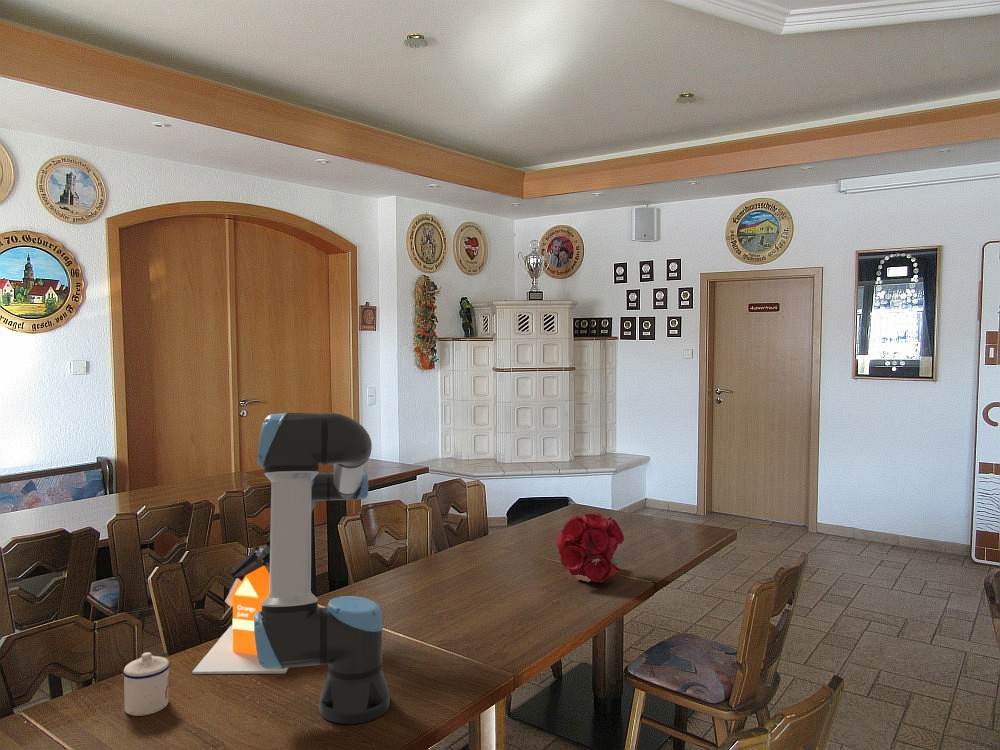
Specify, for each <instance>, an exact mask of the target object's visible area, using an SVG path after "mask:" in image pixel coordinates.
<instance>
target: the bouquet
mask: <svg viewBox="0 0 1000 750" xmlns="http://www.w3.org/2000/svg"><path fill="white" fill-rule="evenodd" d="M555 540H556V542H557V543H556V544H557V546H556V547H557V548H558V553H559V555H560V563H561V565H562V566H563V567H564V568H565V569H567V570H568V571H569V573H570V574H571V576H573V575H578V574H579V575H583V576H587V577H588V578H589V579H591V580H592V581H591V582H594V583H595V582H600V583H599V584H602V583H604V581H607V580H608V579H609V578H612V577H613V576H614V575H616V574H618V573H619V572H620V569H619V565H620V561H619V559H618V557H617V556H616V555H615V552H616V551H617V549H618V546H619V545H621V544H623V542H624V540H625V536H624V534H623V531H622V529H621V528H620V526H619V525H618V522H617V521H616V520H615V519H613V517H608V519H607V518H605V517H604V516H602V515H601V514H600V513H595V512H594V513H585V514H584V515H583V517H582V516H581V515H578V514H576V515H573V516H572V517H570V519H569V520H568V521H567V522H566V523H565V525H564V526H563V528H562V529H561V531H560V533H559V534H558V535H557V536H556V539H555ZM597 559H598V560H597ZM594 560H595V561H594ZM617 565H618V567H617Z"/></svg>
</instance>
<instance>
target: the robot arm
mask: <svg viewBox="0 0 1000 750" xmlns="http://www.w3.org/2000/svg"><path fill="white" fill-rule="evenodd" d="M372 448H373V443H372V439H371V436H370V434H369V432H368V431H367V430H366V429H365V427H364V426H363V425H361V424H360V422H359V421H357V420H355V419H353V418H352V417H349V416H348V415H344V414H341V413H336V412H327V413H325V412H281V413H272V414H268V415H267V416H266V417H265V418H264V420H263V423H262V426H261V430H260V434H259V442H258V447H257V461H256V462H257V466H258V467H262V468H263V467H264V469H263V471H264V476H265V477H266V478H267V479H268V480H269V481H270V483H271V487H270V488H271V489H270V492H271V493H270V494H271V495H270V534H269V536H268V538H267V541H266V542H267V543H266V545H265V547H264V548H261V547H259V546H258V545H255V546H253V549H252V550H251V551H250V552H249V553H248V554H247V555H246V556H245V558H243V560H241V561H240V563H238V564H237V565H236V566H235V567H234V568H232V569H231V571H230V572H229V575H230V576H231V577H232V578H233V580H232V582H231V584H230V586H229V588H228V590H229V592H228V595H227V596H226V597H225V600H224V602H225V603H226V604H227V605H228V606H229V607H233V594H234V593H235V591H236V590H237V588H238V587H239V585H240V584H241V582H242V581H243V579H244V578H245V576H246V575H248V574H250V573H251V572H253V571H255V570H257V569H259V568H261V567H263V566H264V565H265V567H266V568H267V567H269V574H270V586H269V596H268V597H267V598H266V599H265V600H264V601H263V602H262V611H258V612H257V613H255V615H254V635H255V645H256V652H257V657H258V661H259V663H260V665H261V666H262V667H263V668H266V669H275V668H281V669H285V668H288V669H289V668H297V667H298V668H300V667H310V666H320V665H322V666H323V665H327V674H326V678H325V681H324V684H323V687H322V691H321V693H320V697H319V704H318V705H319V706H318V709H319V714H320V716H321V717H323V718H324V719H325V720H327V721H330V722H332V723H336V724H340V725H354V724H355V725H356V724H362V723H366V722H367V723H368V722H370V721H373V720H376V719H378V718H380V717H382V715H384V714H385V713H387V711H388V710H389V708H390V706H391V705H390V703H391V700H390V699H391V696H390V695H391V694H390V689H389V688H388V684H387V681H386V678H385V676H384V675H385V674H384V672H383V630H384V623H383V612H382V609H381V606H380V605H379V604H378V603H377V602H375V601H373V600H371V599H369V598H366V597H362V596H357V595H356V596H354V595H341V596H339V597H333V598H331V599H330V600H329V601H328V602H327V603H328V604H327V606H326V607H325V606H324V607H319V606H318V605H319V604H318V603H319V599H318V597H317V596H315V595H314V594H313V593H312V591H311V588H312V586H311V585H312V584H311V583H312V513H313V510H314V508H315V507H316V505H317V504H318V502H319V501H320V502H321V501H323V502H325V501H349V500H351V501H357V500H364V499H366V498H368V496H369V475H368V473H367V472H365V471H364V470H365V465H366V463H367V462H368V460H369V459H370V457H371V454H372ZM324 465H327V466H328V465H333V472H319V468H320V467H319V466H324Z"/></svg>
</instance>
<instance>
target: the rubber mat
mask: <svg viewBox="0 0 1000 750" xmlns="http://www.w3.org/2000/svg"><path fill="white" fill-rule="evenodd" d="M288 670H289V668H285V669H281V668H275V669H266V668H263V667H262V666H261V665H260V663H259V661H258V657H257V655H256V654H248V653H240V652H233V624H231V625H230V626H229V627H228V628H227V630H226V631H225V632H224V633H223V634H222V635H221V636H220V637H219V639H218V640H217V642H215V644H214V645H213V646H212V647H211V648H210V650H209V651H208V652H207V654H205V656H204V657H203V658H202V659H201V660H200V662H199V663H198V664H197V665H196V666H195V668H194V669H193V670H192V672H191V674H192V675H229V674H230V675H233V674H234V675H236V674H237V675H242V674H243V675H244V674H245V675H246V674H247V675H249V674H250V675H251V674H253V675H254V674H255V675H259V674H260V675H261V674H264V675H265V674H267V675H269V674H281V675H282V674H286V673H287V672H288Z"/></svg>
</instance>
